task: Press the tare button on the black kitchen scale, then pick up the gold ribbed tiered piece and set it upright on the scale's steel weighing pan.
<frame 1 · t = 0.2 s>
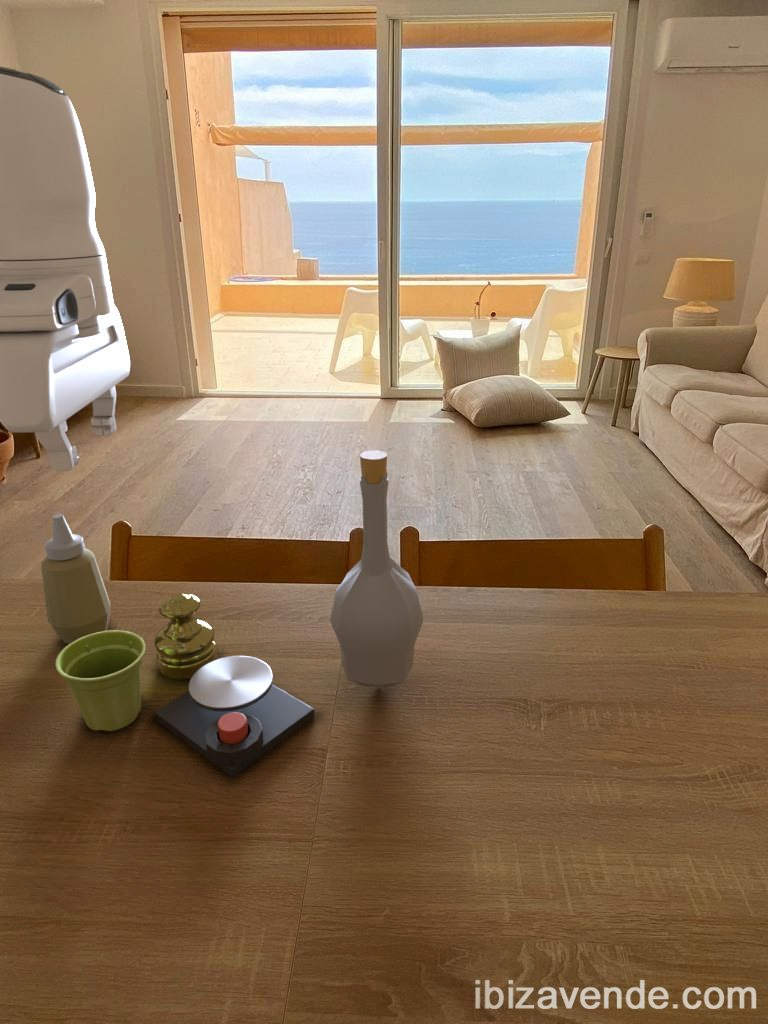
hand: (87, 450, 64), 34 cm above the table, tool pointing down, fingers open, 8 cm apart
weighing pan: (231, 684, 81), resting on scale
bottle: (378, 686, 85), on the table
tare button: (232, 728, 74), point 4 cm above the table, slide at 0.2 cm
gold ribbed tiered piece: (188, 664, 90), on the table
squeeze bottle: (84, 635, 96), on the table
scale: (235, 718, 80), on the table
plant pot: (114, 716, 81), on the table
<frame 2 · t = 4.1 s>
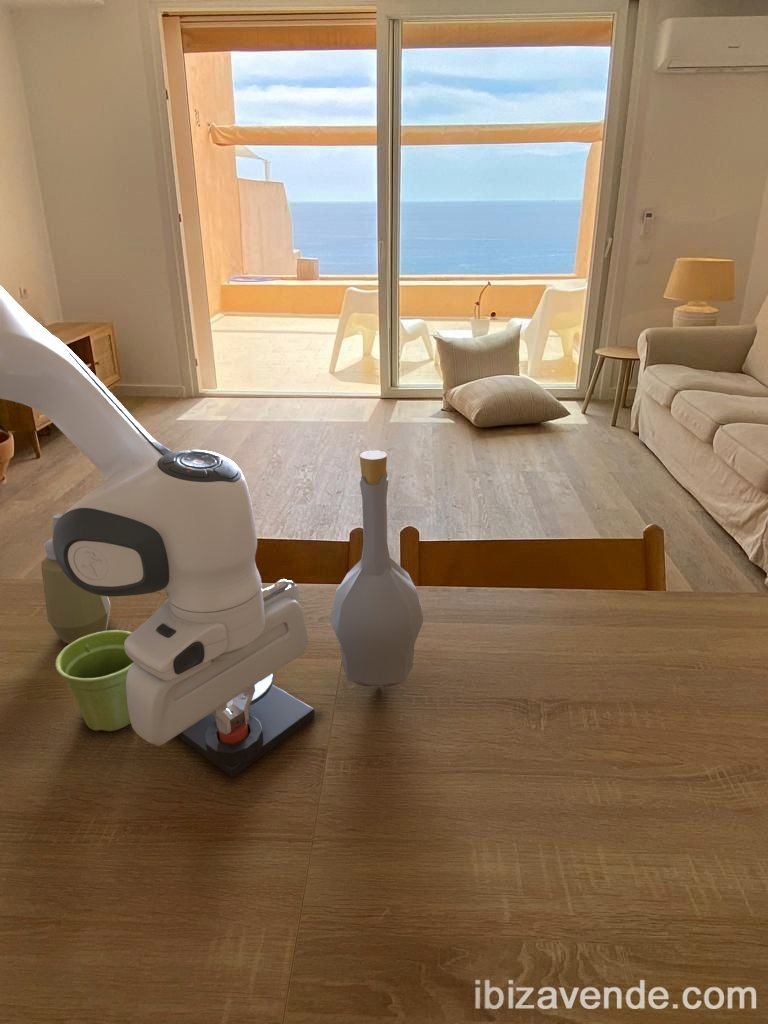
hand: (233, 725, 73), 4 cm above the table, tool pointing down, fingers closed, pressing on tare button
tare button: (233, 732, 74), point 3 cm above the table, slide at -0.4 cm, touching gripper
everything else where it was.
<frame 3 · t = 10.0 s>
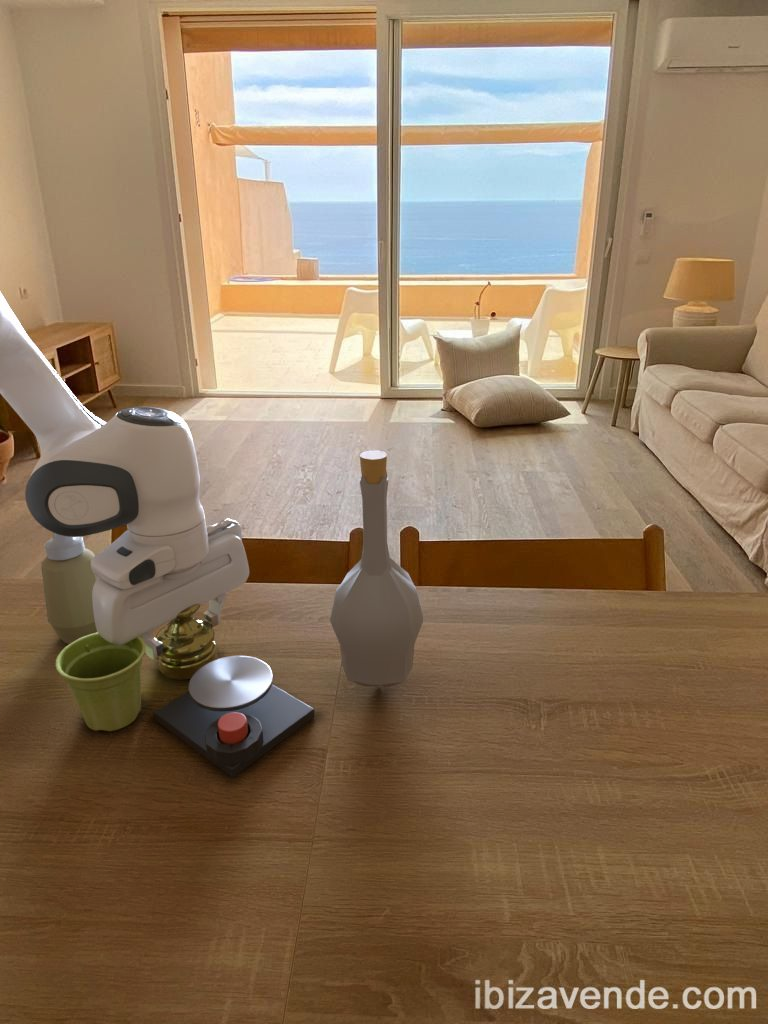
hand: (185, 639, 88), 4 cm above the table, tool pointing down, fingers closed on gold ribbed tiered piece, 7 cm apart
tare button: (232, 728, 74), point 4 cm above the table, slide at 0.2 cm
gold ribbed tiered piece: (189, 664, 90), on the table, touching gripper
everything else where it was.
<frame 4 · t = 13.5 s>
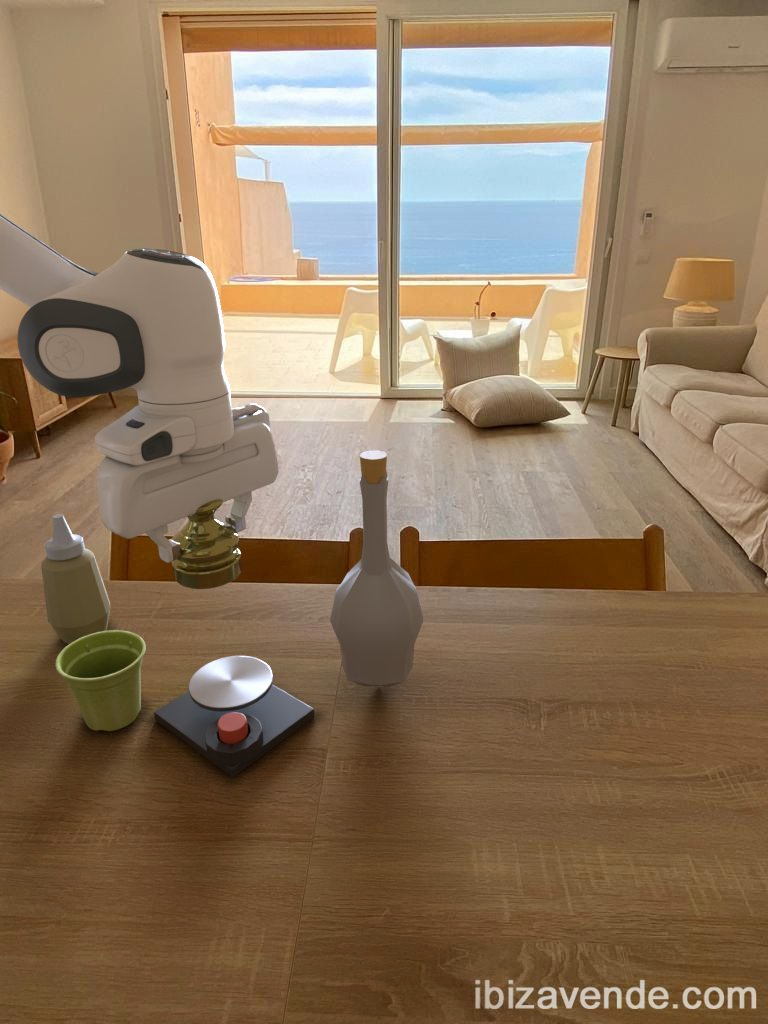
hand: (204, 544, 75), 21 cm above the table, tool pointing down, fingers closed on gold ribbed tiered piece, 7 cm apart
gold ribbed tiered piece: (209, 575, 77), point 17 cm above the table, touching gripper
everything else where it was.
when the fingers open (7 cm above the table, at t = 17.1 s): gold ribbed tiered piece stays where it is, resting on weighing pan.
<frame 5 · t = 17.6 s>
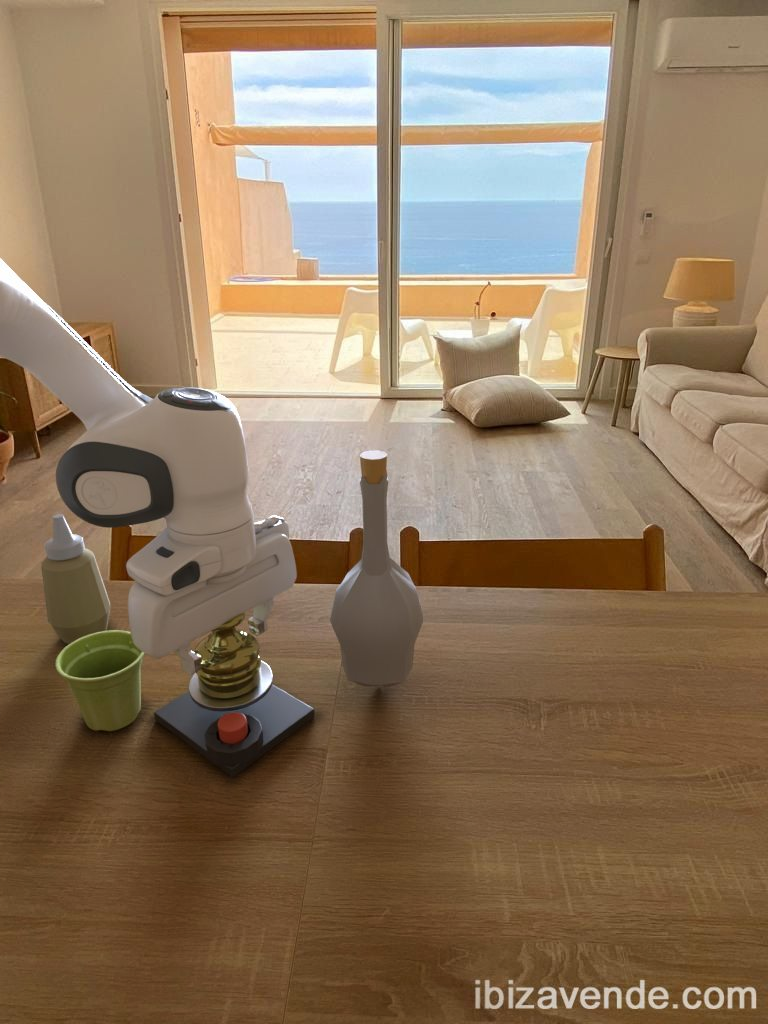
hand: (227, 650, 79), 8 cm above the table, tool pointing down, fingers open, 8 cm apart
gold ribbed tiered piece: (230, 681, 81), point 3 cm above the table, touching weighing pan
everything else where it was.
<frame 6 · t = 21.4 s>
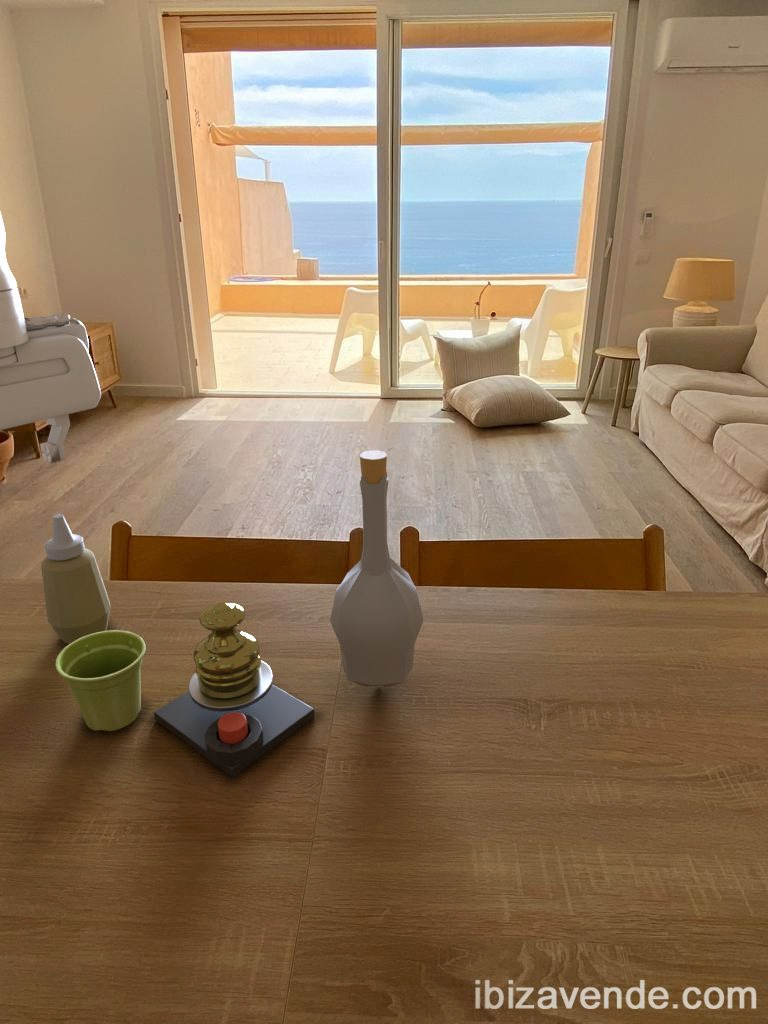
hand: (6, 474, 66), 31 cm above the table, tool pointing down, fingers open, 8 cm apart
nothing on the table moved.
at the end: tare button pushed in 1.0 cm at the most during the clip, back to 0.2 cm at the end; gold ribbed tiered piece 0.1 cm off-centre on the weighing pan, point 0.4 cm above the weighing pan's base; gold ribbed tiered piece tilted 0° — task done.
